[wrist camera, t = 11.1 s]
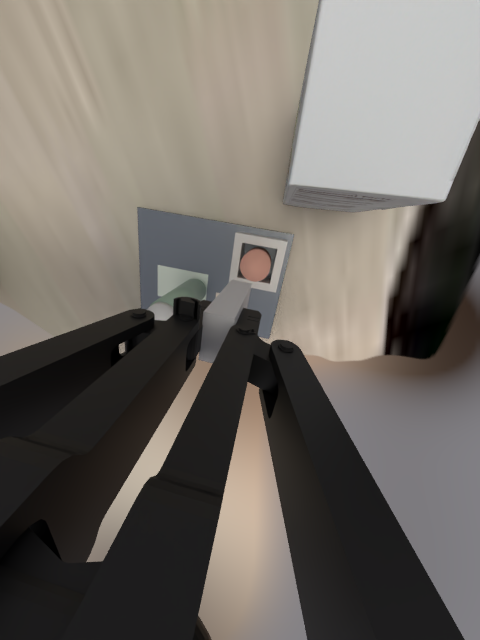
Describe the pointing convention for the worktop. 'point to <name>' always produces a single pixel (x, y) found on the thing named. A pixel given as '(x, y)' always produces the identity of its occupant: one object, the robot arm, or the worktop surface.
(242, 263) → the button
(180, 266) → the button panel board
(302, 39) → the worktop surface
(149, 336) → the robot arm
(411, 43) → the supplement box
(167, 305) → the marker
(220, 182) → the worktop surface
